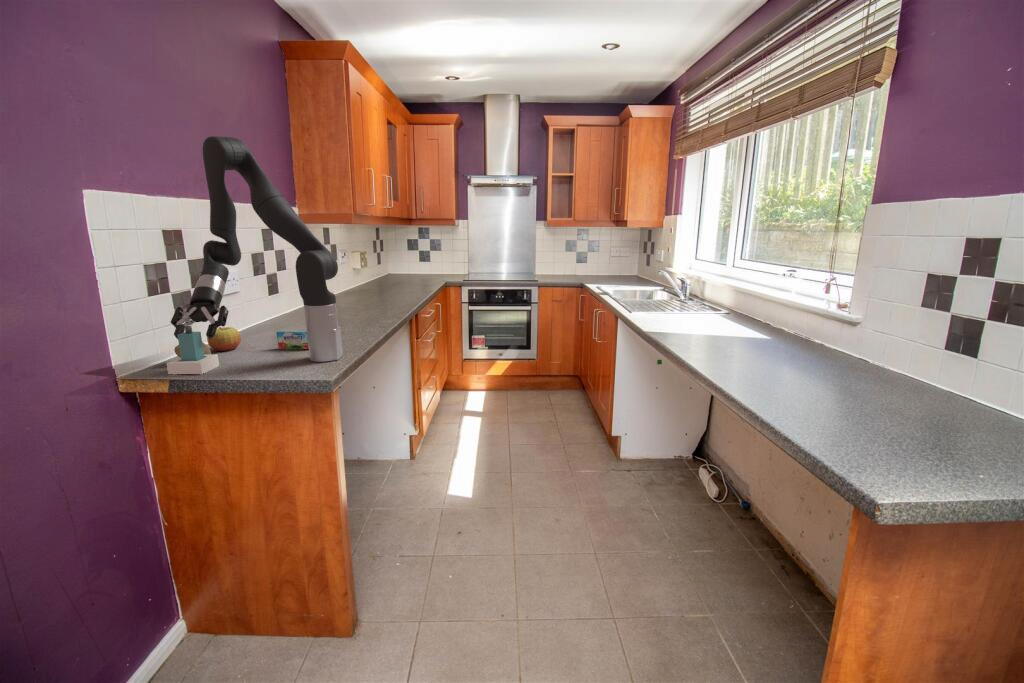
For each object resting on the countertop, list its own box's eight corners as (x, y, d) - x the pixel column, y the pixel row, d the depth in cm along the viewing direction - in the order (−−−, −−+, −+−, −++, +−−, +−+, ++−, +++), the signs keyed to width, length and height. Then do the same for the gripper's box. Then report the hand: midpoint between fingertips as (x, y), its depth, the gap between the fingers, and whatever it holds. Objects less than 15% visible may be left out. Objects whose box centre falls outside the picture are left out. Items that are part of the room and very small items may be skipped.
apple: (202, 353, 156) (198, 329, 154) (221, 346, 165) (218, 323, 163) (230, 353, 155) (226, 329, 153) (248, 346, 164) (245, 323, 163)
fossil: (168, 347, 138) (192, 333, 147) (163, 357, 140) (187, 343, 149) (196, 366, 140) (218, 351, 149) (190, 375, 142) (212, 360, 151)
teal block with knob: (206, 368, 138) (199, 324, 135) (198, 372, 134) (191, 327, 131) (192, 368, 137) (184, 325, 134) (183, 372, 134) (176, 327, 131)
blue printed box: (278, 349, 160) (276, 331, 158) (281, 348, 161) (278, 330, 160) (311, 350, 158) (309, 332, 157) (314, 349, 160) (312, 331, 158)
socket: (219, 365, 140) (217, 354, 139) (202, 374, 131) (200, 362, 131) (187, 366, 140) (185, 355, 139) (168, 375, 131) (166, 363, 130)
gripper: (177, 286, 140) (159, 331, 131) (227, 284, 141) (212, 329, 132) (190, 301, 146) (174, 345, 138) (238, 299, 147) (225, 343, 139)
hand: (193, 337), depth 135 cm, fingers open, 8 cm apart
